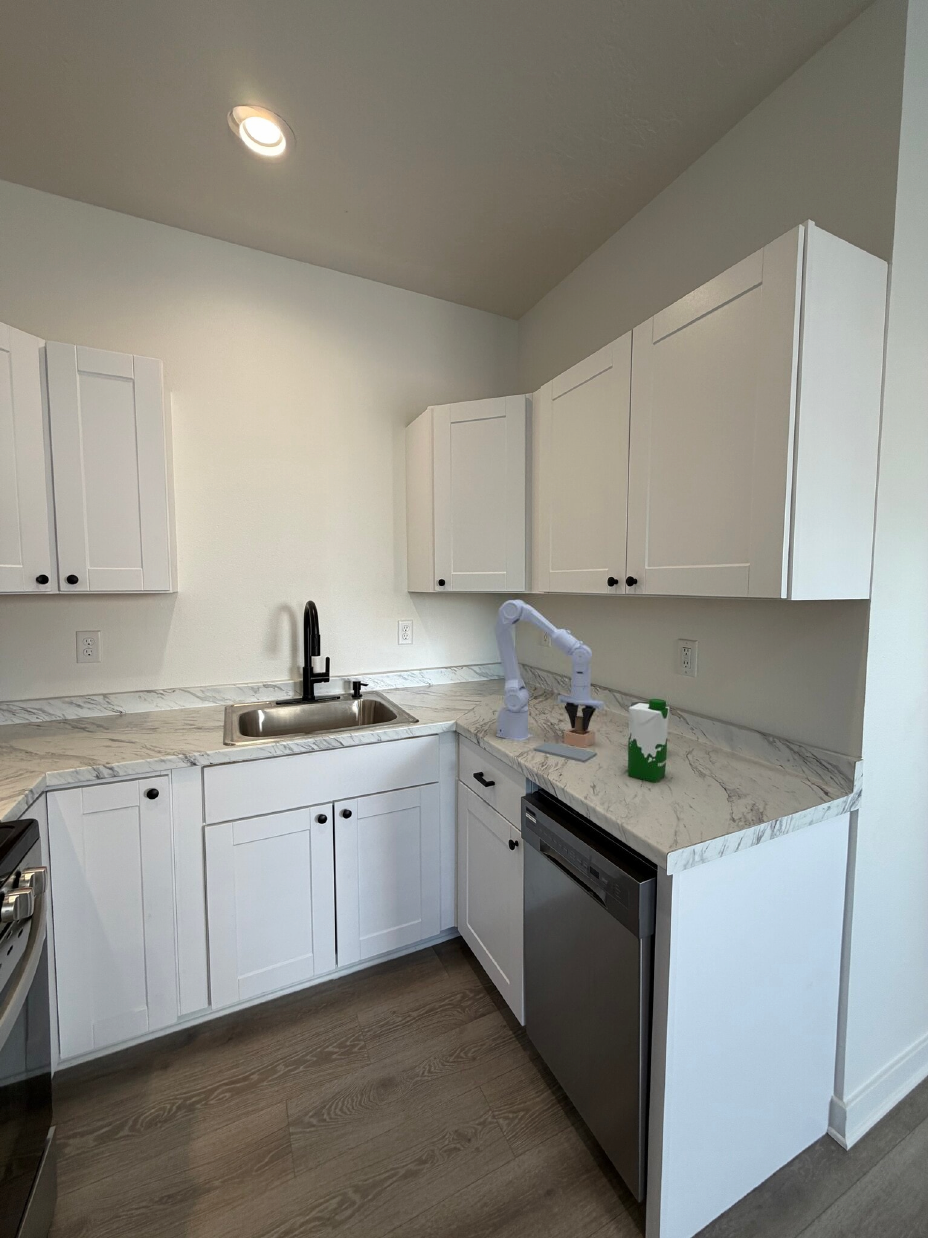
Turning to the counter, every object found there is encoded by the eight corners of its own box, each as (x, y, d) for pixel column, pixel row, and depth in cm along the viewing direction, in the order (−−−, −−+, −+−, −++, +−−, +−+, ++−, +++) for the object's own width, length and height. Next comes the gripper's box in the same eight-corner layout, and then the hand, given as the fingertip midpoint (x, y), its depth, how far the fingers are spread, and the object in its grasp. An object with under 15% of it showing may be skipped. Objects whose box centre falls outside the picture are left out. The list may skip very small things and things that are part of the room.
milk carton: (658, 785, 127) (661, 705, 126) (622, 776, 133) (625, 699, 131) (669, 775, 134) (672, 699, 132) (635, 767, 139) (638, 694, 138)
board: (533, 752, 151) (533, 748, 151) (547, 745, 157) (547, 741, 157) (584, 764, 141) (584, 760, 141) (596, 757, 147) (596, 752, 147)
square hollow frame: (563, 744, 158) (564, 732, 158) (573, 739, 164) (574, 727, 163) (584, 749, 154) (585, 736, 154) (594, 744, 159) (595, 731, 159)
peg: (572, 743, 158) (573, 717, 158) (576, 740, 161) (577, 715, 160) (581, 745, 157) (582, 719, 156) (585, 742, 159) (586, 717, 158)
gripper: (608, 686, 156) (607, 730, 157) (565, 680, 165) (564, 722, 166) (599, 689, 151) (597, 735, 152) (554, 683, 160) (553, 726, 161)
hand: (579, 728), depth 158 cm, fingers open, 3 cm apart
